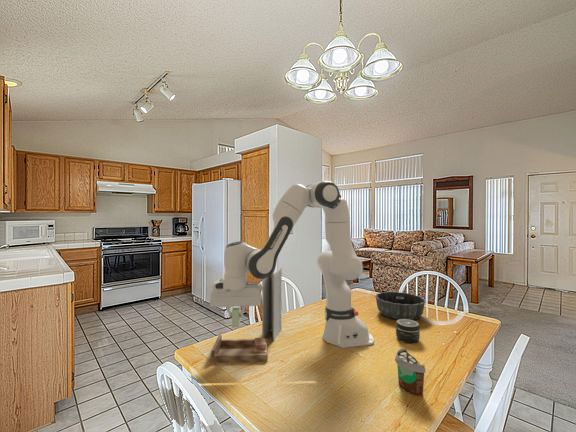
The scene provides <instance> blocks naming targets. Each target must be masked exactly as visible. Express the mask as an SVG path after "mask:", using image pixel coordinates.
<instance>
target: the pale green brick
mask: <svg viewBox="0 0 576 432" xmlns="http://www.w3.org/2000/svg"><path fill="white" fill-rule="evenodd" d="M231 312H232V317H231V323H232V324H231V328H239V327H240V324H241V317H239V312H241V306H234V307H232V310H231Z"/></svg>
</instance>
